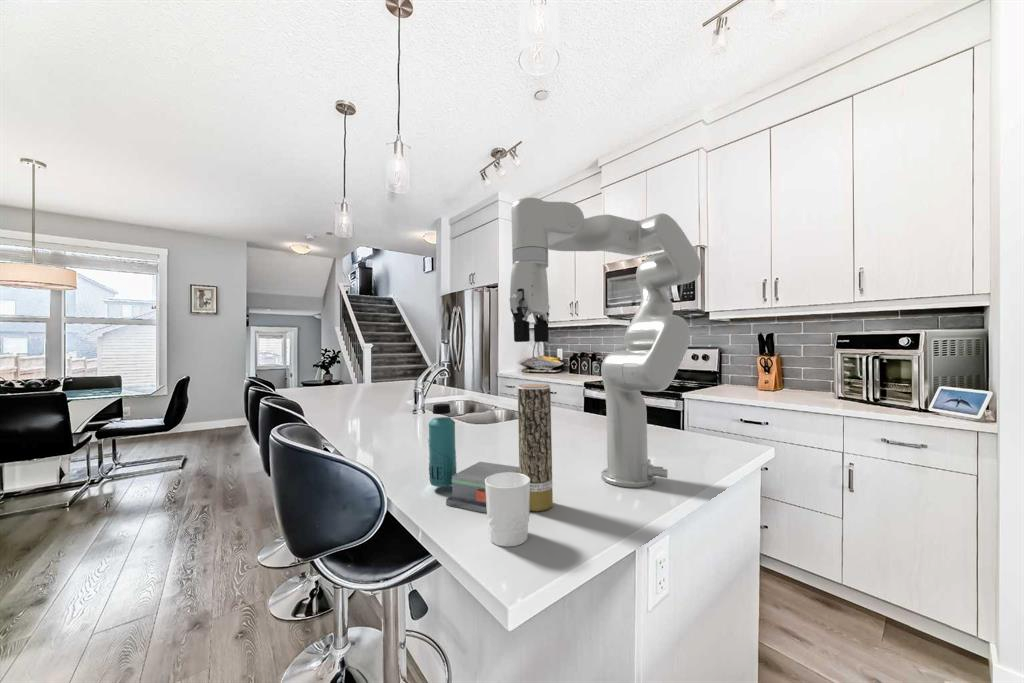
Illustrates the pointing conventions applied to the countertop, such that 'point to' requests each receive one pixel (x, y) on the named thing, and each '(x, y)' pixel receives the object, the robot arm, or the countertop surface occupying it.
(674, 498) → the countertop surface
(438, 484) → the beverage bottle
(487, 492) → the white cup
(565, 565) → the countertop surface
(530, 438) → the paper tube
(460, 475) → the stand
